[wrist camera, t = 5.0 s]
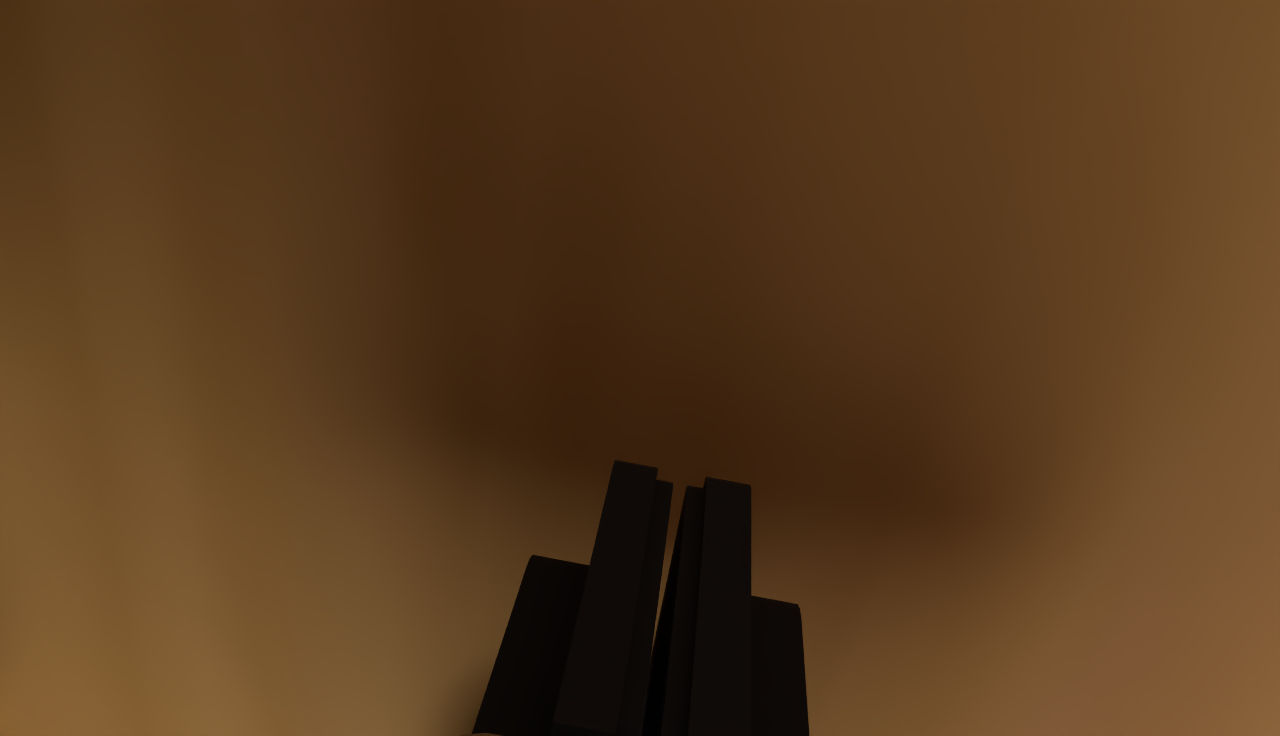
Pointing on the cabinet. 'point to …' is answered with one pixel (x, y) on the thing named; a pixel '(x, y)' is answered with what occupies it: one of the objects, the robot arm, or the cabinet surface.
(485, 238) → the cabinet surface
